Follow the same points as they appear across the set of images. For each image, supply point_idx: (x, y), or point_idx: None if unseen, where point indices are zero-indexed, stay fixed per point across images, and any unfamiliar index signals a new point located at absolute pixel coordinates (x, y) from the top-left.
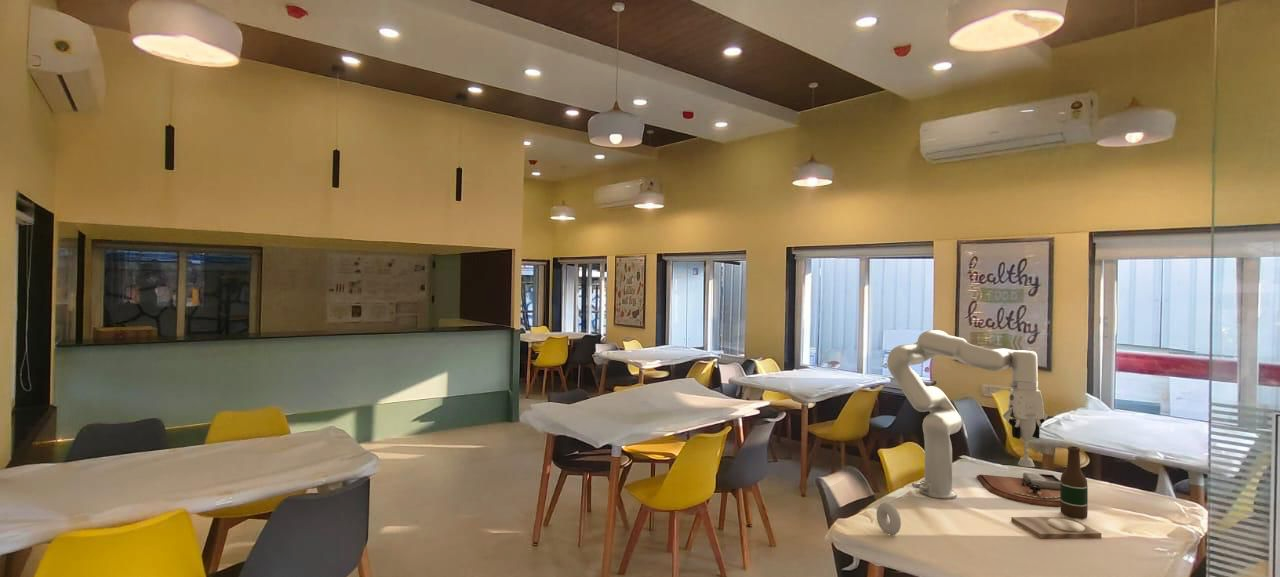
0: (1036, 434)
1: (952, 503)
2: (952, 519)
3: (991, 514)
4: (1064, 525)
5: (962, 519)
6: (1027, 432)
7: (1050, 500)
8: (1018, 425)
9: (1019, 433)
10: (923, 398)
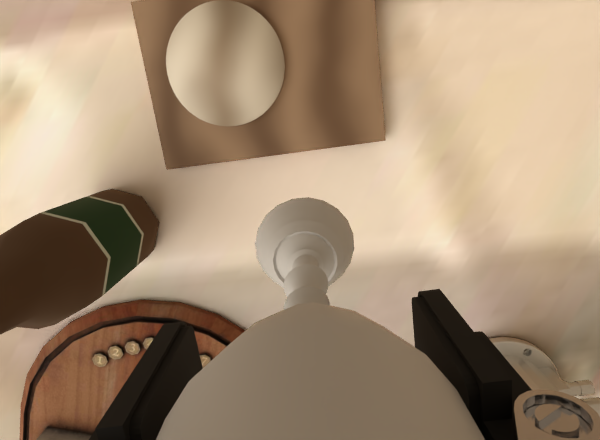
0: (181, 357)
1: (497, 298)
2: (591, 138)
3: (415, 204)
4: (237, 51)
5: (553, 142)
6: (347, 311)
7: (147, 325)
8: (521, 420)
9: (450, 321)
10: None
